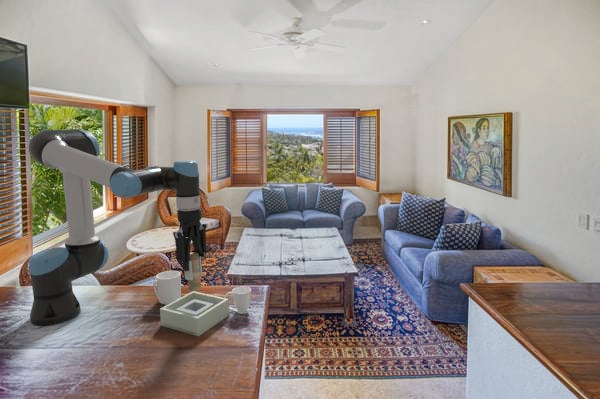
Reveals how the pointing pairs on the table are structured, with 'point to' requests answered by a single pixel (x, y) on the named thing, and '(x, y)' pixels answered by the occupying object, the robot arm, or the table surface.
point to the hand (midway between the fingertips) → (193, 276)
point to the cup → (241, 299)
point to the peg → (194, 272)
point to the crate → (194, 313)
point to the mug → (168, 286)
